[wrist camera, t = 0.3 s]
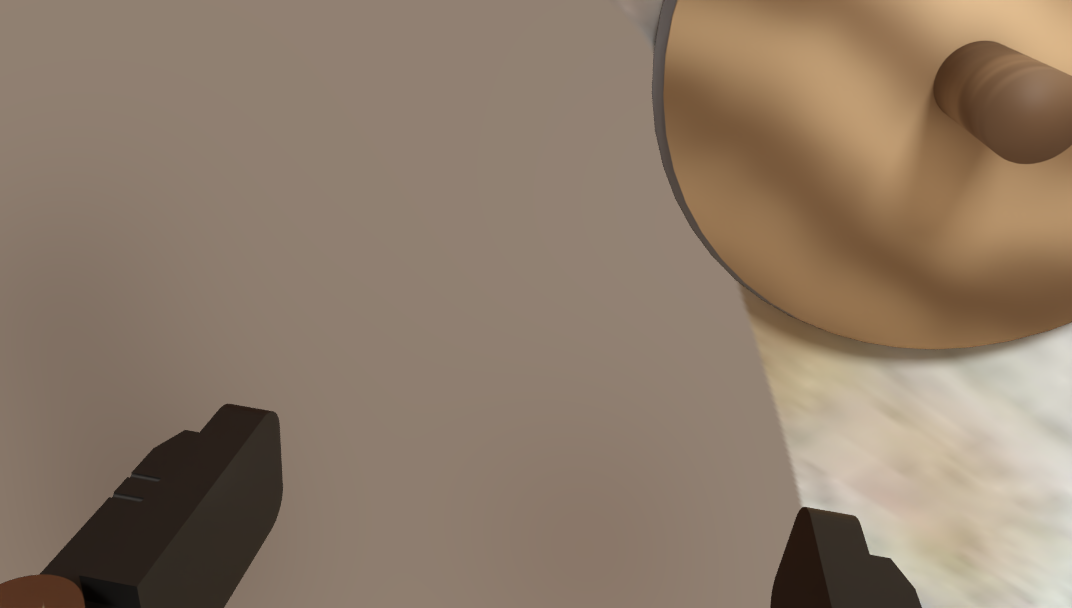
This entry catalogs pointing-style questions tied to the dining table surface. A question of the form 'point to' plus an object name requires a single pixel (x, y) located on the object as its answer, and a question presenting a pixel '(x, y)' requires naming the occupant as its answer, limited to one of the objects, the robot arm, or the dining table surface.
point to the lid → (882, 160)
